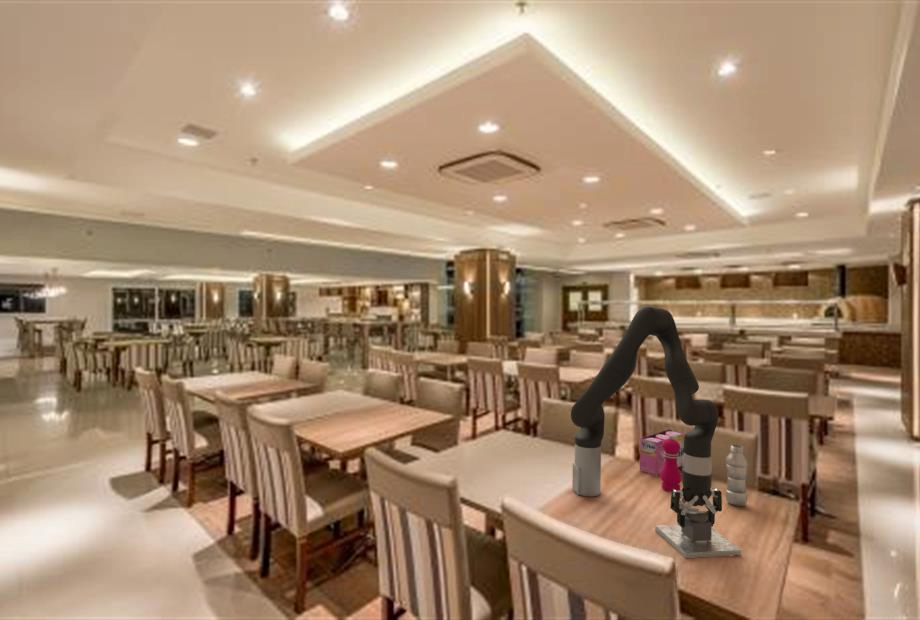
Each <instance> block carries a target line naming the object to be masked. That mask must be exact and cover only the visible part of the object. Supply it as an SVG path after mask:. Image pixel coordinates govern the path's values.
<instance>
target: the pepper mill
mask: <svg viewBox="0 0 920 620" xmlns="http://www.w3.org/2000/svg"><path fill="white" fill-rule="evenodd" d="M662 446H663V449H664V450H665V451H664V456H665V465H664V467H663V469H662V471H661V474H659V476H660V480H661V481H662V482H661V489H663V491H665V492H669V493H672V489H675V490H678V491H681V485H680V483H682V474H681V473H682V472H680V469H679V467H678V466H677V458H678V457H679V456H678V455H679V454H678V452H679V450H680V444H679V443H678V442H677V441H676V440H674V436H673V435H670V436H669V439H667V440H665V441H664V442H663V445H662Z"/></svg>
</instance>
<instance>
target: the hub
mask: <svg viewBox="0 0 920 620" xmlns="http://www.w3.org/2000/svg"><path fill="white" fill-rule="evenodd" d="M654 528H655V530H654V531H655V532H656V533H657V534H659V536H661V537H662V538H663V539H664V540H666V541H665V542H668V543H669V544H670V545H671V546H672V547H673V548H674V549H675V550H676V551H677V552H678V553H679V554H680V555H682V556H683V557H684V559H699V558H698V557H703V558H717V557H716V556H722V557H731V556H730V555H741V556H742V549H741V548H739V547H738V546H736V545H735V544H734V543H733V542H732V541H730V540H728V539H727V538H726V537H725V536H723V535H722V534H720V533H719V532H718V531H716V530H715V529H713V528H712V537H711V540H709V541H692V540H691V539H689V538H688V537H687V536H686V535H685V534H683V533H682V532H681V526H679V524H678V523H677V524H658V525H657V524H656V525H655V526H654Z"/></svg>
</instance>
